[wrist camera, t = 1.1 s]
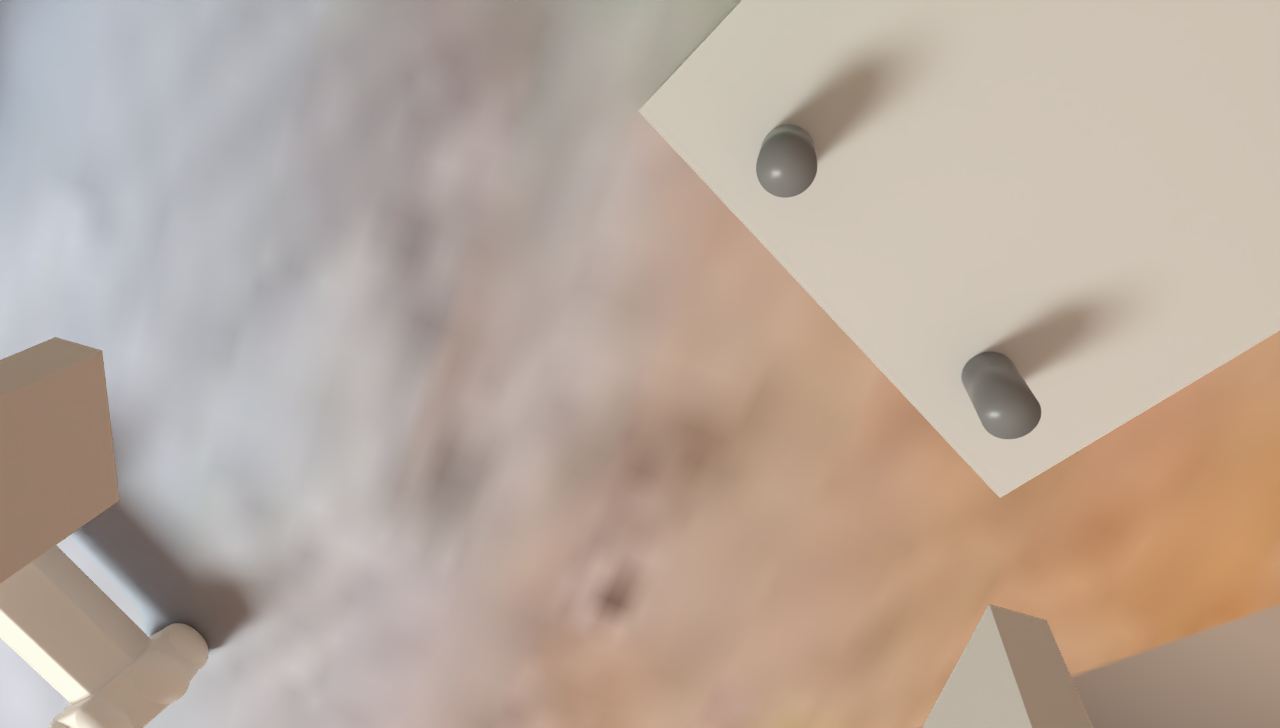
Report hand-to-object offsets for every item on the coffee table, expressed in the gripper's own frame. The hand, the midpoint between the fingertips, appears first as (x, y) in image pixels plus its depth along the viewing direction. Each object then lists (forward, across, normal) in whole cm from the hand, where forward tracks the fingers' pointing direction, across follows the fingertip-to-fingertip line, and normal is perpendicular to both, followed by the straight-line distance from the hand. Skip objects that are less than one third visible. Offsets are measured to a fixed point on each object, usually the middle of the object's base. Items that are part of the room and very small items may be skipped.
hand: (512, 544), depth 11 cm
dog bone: (+23, -30, -31) cm, 49 cm away
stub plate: (+22, +12, +7) cm, 27 cm away
